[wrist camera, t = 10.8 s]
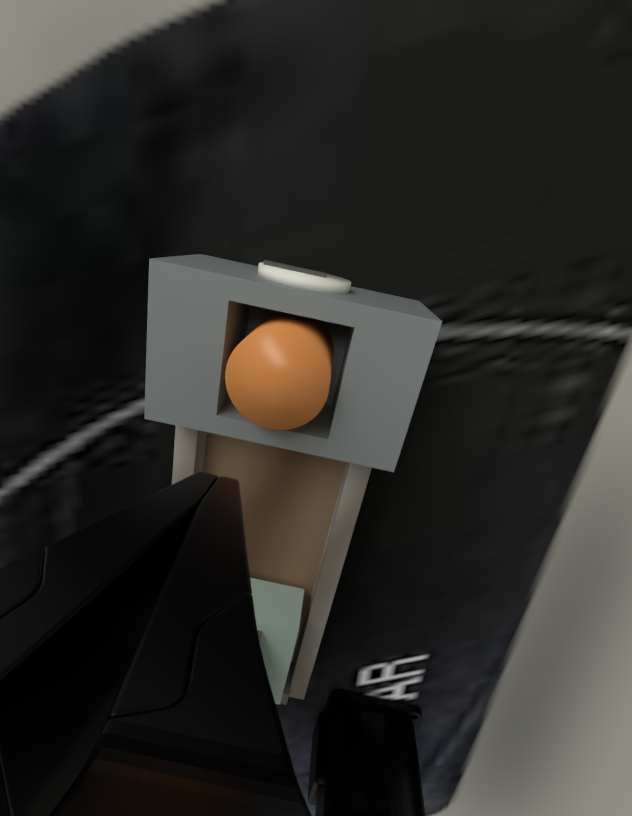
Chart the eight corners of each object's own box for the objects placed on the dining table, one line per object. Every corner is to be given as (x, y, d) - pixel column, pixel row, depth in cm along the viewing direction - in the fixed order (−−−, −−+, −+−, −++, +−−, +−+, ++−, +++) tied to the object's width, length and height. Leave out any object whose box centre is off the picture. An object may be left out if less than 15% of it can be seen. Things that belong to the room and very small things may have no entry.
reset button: (342, 320, 17) (339, 342, 13) (325, 399, 18) (318, 439, 14) (257, 301, 17) (231, 319, 13) (246, 382, 18) (220, 418, 14)
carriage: (304, 589, 23) (285, 731, 16) (286, 658, 25) (263, 808, 19) (200, 566, 23) (138, 700, 16) (192, 638, 25) (136, 781, 19)
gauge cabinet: (422, 288, 18) (447, 305, 13) (384, 420, 20) (393, 472, 16) (201, 241, 18) (149, 241, 13) (191, 378, 20) (144, 418, 16)
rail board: (374, 417, 20) (379, 451, 17) (308, 653, 27) (302, 708, 24) (201, 380, 20) (172, 406, 17) (179, 625, 27) (156, 676, 24)
